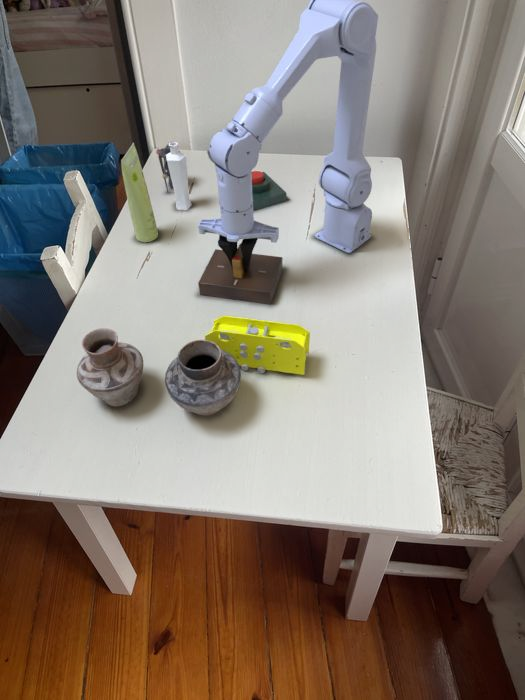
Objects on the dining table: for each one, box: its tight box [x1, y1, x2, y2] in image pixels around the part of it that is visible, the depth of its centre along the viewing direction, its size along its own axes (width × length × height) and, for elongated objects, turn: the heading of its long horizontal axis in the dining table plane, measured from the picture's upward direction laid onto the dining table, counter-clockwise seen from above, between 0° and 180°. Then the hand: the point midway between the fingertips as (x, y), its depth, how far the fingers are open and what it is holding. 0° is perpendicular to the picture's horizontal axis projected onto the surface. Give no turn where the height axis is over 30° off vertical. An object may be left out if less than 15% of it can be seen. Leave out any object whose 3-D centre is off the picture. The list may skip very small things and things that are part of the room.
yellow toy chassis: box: [204, 315, 311, 376], centre depth 78 cm, size 16×6×8 cm, turn 78°
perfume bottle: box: [166, 141, 192, 211], centre depth 111 cm, size 5×4×15 cm
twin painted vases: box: [76, 327, 242, 416], centre depth 72 cm, size 11×25×12 cm, turn 82°
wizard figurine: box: [155, 141, 181, 193], centre depth 118 cm, size 8×6×12 cm
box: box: [252, 171, 287, 211], centre depth 117 cm, size 12×10×4 cm
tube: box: [120, 142, 159, 243], centre depth 100 cm, size 6×5×20 cm
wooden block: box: [232, 243, 245, 278], centre depth 92 cm, size 6×2×4 cm, turn 166°
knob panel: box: [197, 248, 283, 305], centre depth 95 cm, size 14×11×3 cm
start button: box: [251, 170, 264, 184], centre depth 115 cm, size 4×4×2 cm
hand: (241, 267), depth 93 cm, fingers closed on wooden block, 2 cm apart
